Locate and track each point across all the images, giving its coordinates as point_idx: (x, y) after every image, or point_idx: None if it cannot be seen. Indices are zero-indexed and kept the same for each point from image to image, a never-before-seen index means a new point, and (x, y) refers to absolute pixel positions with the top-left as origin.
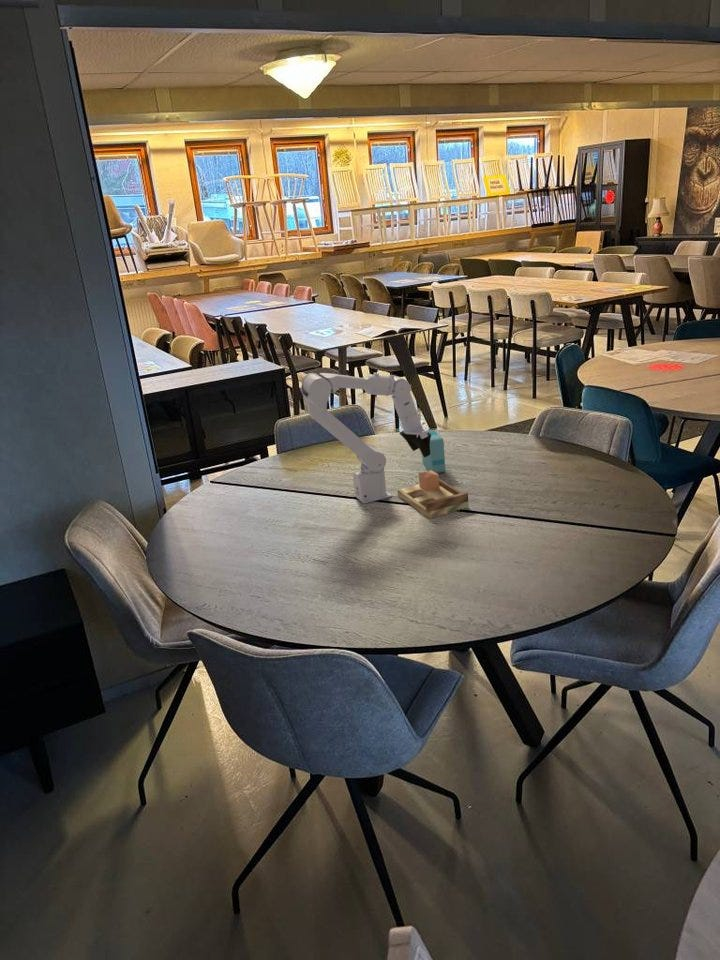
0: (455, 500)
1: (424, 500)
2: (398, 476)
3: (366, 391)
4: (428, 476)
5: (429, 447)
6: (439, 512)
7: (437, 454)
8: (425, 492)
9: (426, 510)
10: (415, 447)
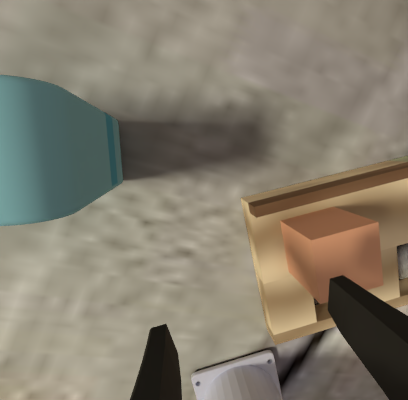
0: None
1: (397, 276)
2: (88, 306)
3: None
4: (373, 269)
5: (405, 317)
6: None
7: (99, 154)
8: None
9: None
10: (173, 360)
